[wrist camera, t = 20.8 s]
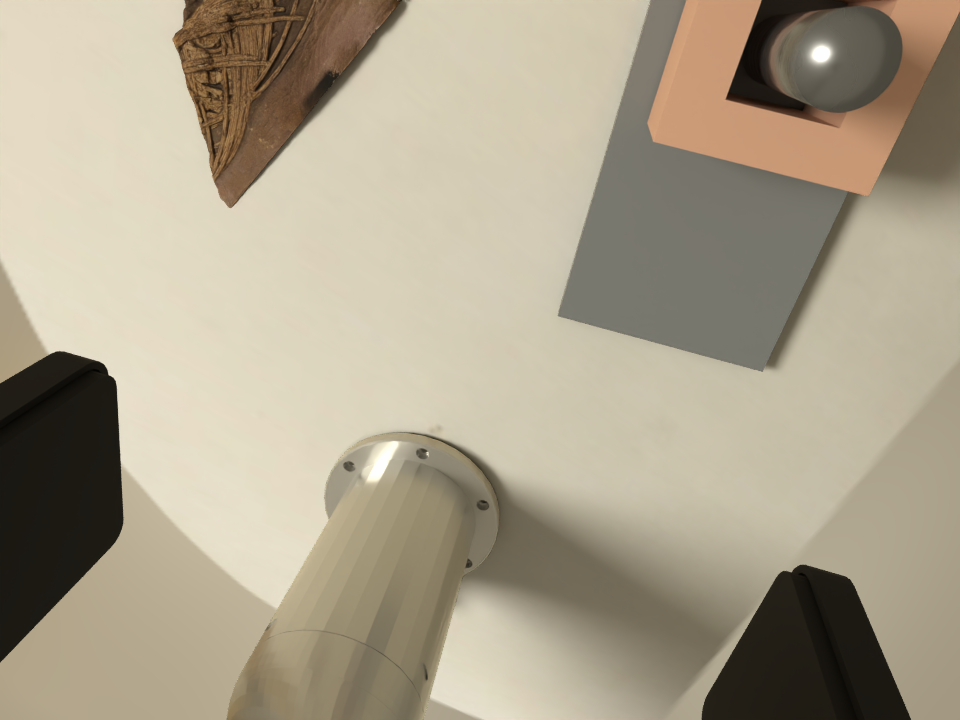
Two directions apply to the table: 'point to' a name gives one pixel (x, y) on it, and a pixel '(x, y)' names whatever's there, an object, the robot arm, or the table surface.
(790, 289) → the track
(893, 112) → the block
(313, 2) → the wooden fragment
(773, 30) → the dowel
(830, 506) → the table surface
